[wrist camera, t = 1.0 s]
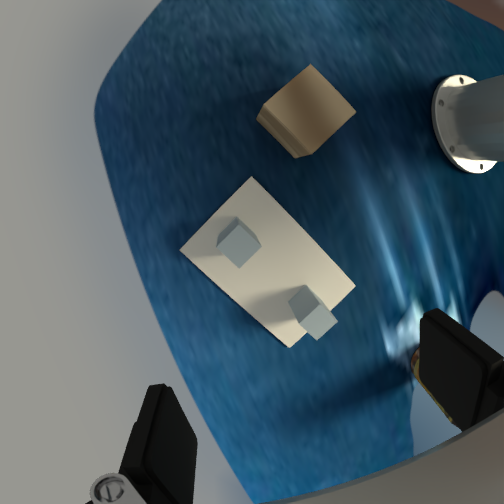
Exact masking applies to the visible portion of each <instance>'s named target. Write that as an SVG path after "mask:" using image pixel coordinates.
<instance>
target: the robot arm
mask: <svg viewBox="0 0 504 504" xmlns="http://www.w3.org/2000/svg"><path fill="white" fill-rule="evenodd" d="M431 111H432V122H433V128H434V131H435V134H436V138H437V140H438V142H439V144H440V147H441V148H442V150H443V152H444V153H445V155H446V156H447V157H448V159H449V160H450V161H451V162H452V163H453V164H454V165H455V166H456V167H458V168H459V169H461V170H463V171H465V172H468V173H483V172H486V171H488V170H489V169H490V168H491V167H492V166H493V165H494V164H495V163H496V161H500V162H504V75H501V76H497V77H493V78H489V79H486V80H482V81H478V82H477V81H475V80H474V79H472V78H470V77H468V76H464V75H453V76H450V77H448V78H446V79H444V80H442V81H441V82H440V84H439V85H438V86H437V88H436V90H435V92H434V95H433V99H432V107H431ZM503 359H504V357H503V356H501V355H500V354H499V353H497V352H496V351H495V350H494V349H492V348H491V347H490V346H488V345H487V344H486V343H485V342H483V341H482V340H481V339H479V338H478V337H477V336H475V335H474V334H473V333H471V332H470V331H469V330H467V329H466V328H465V327H463V326H462V325H461V324H459V323H458V322H457V321H455V320H454V319H452V318H451V317H450V316H448V315H447V314H446V313H444V312H443V311H441V310H440V309H438V308H436V309H433V310H431V311H428V312H426V313H424V314H423V318H421V319H420V349H419V379H420V381H421V382H422V384H423V385H424V386H425V387H426V388H427V389H428V391H429V392H430V393H431V394H432V395H433V397H434V398H435V399H436V400H437V401H438V403H439V404H440V405H441V406H442V407H443V409H444V410H445V411H446V412H447V413H448V415H449V416H450V417H451V418H452V420H453V421H454V422H455V423H456V425H457V426H458V427H459V428H460V429H461V431H462V433H460V434H458V435H456V436H454V437H452V438H451V439H449V440H447V441H445V442H443V443H441V444H439V445H437V446H435V447H433V448H431V449H429V450H427V451H425V452H423V453H420V454H418V455H417V456H414V457H412V458H409V459H407V460H405V461H402V462H400V463H398V464H395V465H393V466H390V467H388V468H385V469H383V470H380V471H377V472H375V473H372V474H369V475H367V476H364V477H361V478H358V479H355V480H352V481H349V482H346V483H343V484H339V485H336V486H333V487H329V488H326V489H322V490H318V491H315V492H311V493H307V494H303V495H299V496H294V497H290V498H285V499H281V500H276V501H270V502H265V503H259V504H504V361H503ZM196 456H197V438H196V435H195V433H194V431H193V429H192V427H191V426H190V424H189V422H188V420H187V418H186V416H185V414H184V412H183V410H182V408H181V406H180V404H179V402H178V400H177V398H176V396H175V394H174V391H173V390H172V388H171V387H167V386H166V385H165V384H157V385H150V386H149V387H148V389H147V392H146V395H145V398H144V401H143V405H142V407H141V410H140V413H139V416H138V419H137V422H135V423H134V425H133V428H132V431H131V434H130V437H129V441H128V443H127V446H126V450H125V453H124V456H123V459H122V462H121V466H120V469H119V473H110V474H105V475H103V476H101V477H99V478H98V479H96V481H95V482H94V483H93V484H92V486H91V489H90V497H91V499H92V500H91V501H89V502H87V503H86V504H193V493H194V481H195V468H196Z"/></svg>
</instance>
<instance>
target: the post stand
mask: <svg viewBox="0 0 504 504" xmlns="http://www.w3.org/2000/svg"><path fill="white" fill-rule="evenodd" d="M180 251H181V252H182V253H183V254H184V255H185V256H186V257H187V258H189V259H190V260H191V261H192V262H193V263H194V264H195V265H196V266H197V267H198V268H199V269H200V270H202V271H203V272H204V273H205V274H206V275H207V276H208V277H209V278H210V279H211V280H212V281H214V282H215V283H216V284H217V285H218V286H219V287H220V288H221V289H222V290H224V291H225V292H226V293H227V294H228V295H229V296H230V297H231V298H232V299H234V300H235V301H236V302H237V303H238V304H239V305H240V306H241V307H243V308H244V309H245V310H246V311H247V312H248V313H249V314H251V315H252V316H253V317H254V318H255V319H256V320H257V321H259V322H260V323H261V324H262V325H263V326H264V327H265V328H267V329H268V330H269V331H270V332H271V333H272V334H274V335H275V336H276V337H277V338H278V339H279V340H281V341H282V342H283V343H284V344H285V345H286V346H288V347H289V348H290V347H291V346H292V345H293V344H294V343H296V342H297V341H298V340H299V339H300V338H301V337H302V336H303V335H305V334H306V333H307V332H308V333H309V334H310V335H311V336H313V337H314V338H315V339H316V340H318V339H319V338H320V337H321V336H322V335H323V334H325V333H326V332H327V331H328V330H329V329H330V328H331V327H332V326H333V325H334V324H335V323H336V322H337V320H336V319H335V317H334V316H333V314H332V313H331V312H330V310H332V309H333V308H334V307H335V306H336V305H337V304H338V303H339V302H340V301H341V300H342V299H343V298H344V297H345V296H346V295H347V294H348V293H349V292H350V291H351V290H352V289H353V288H354V287H355V285H354V283H353V282H352V281H351V280H350V279H349V278H348V277H347V276H346V275H345V273H344V272H343V271H342V270H341V269H340V268H339V267H338V266H337V265H336V264H335V263H334V261H333V260H332V259H331V258H330V257H329V256H328V255H327V254H326V253H325V252H324V251H323V250H322V248H321V247H320V246H319V245H318V244H317V243H316V242H315V241H314V240H313V239H312V238H311V237H310V236H309V235H308V234H307V233H306V231H305V230H304V229H303V228H302V227H301V226H300V225H299V224H298V223H297V222H296V221H295V220H294V219H293V218H292V217H291V216H290V215H289V214H288V213H287V212H286V211H285V210H284V209H283V208H282V206H281V205H280V204H279V203H278V202H277V201H276V200H275V199H274V198H273V197H272V196H271V195H270V194H269V193H268V192H267V191H266V190H265V189H264V188H263V187H262V186H261V185H260V184H259V183H258V182H257V181H256V180H255V179H254V178H253V177H252V176H251V177H250V178H249V179H248V180H247V181H246V182H245V183H244V184H243V185H242V186H241V187H240V188H239V189H238V190H237V191H236V192H235V193H234V194H233V195H232V196H231V197H230V198H229V199H228V200H227V201H226V202H225V203H224V204H223V205H222V206H221V207H220V208H219V209H218V210H217V211H216V212H215V213H214V214H213V215H212V216H211V217H210V218H209V220H208V221H207V222H206V223H205V224H204V225H203V226H202V227H201V228H200V229H199V230H198V231H197V232H196V233H195V234H194V235H193V236H192V237H191V238H190V239H189V240H188V241H187V242H186V244H185V245H184V246H183V247H182V248H181V249H180Z"/></svg>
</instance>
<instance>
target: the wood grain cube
mask: <svg viewBox="0 0 504 504" xmlns="http://www.w3.org/2000/svg"><path fill="white" fill-rule="evenodd" d="M355 113H356V111H355V110H354V109H353V107H352V106H351V105H350V104H349V103H348V102H347V101H346V100H345V99H344V98H343V96H342V95H341V94H340V93H339V92H338V91H337V90H336V89H335V88H334V87H333V86H332V85H331V84H330V83H329V82H328V81H327V80H326V79H325V78H324V77H323V76H322V75H321V74H320V73H319V72H318V71H317V70H316V69H315V68H314V67H313V66H312V65H311V64H310V65H309V66H308V67H307V68H305V69H304V70H303V71H302V72H300V73H299V74H298V75H297V76H296V77H295V78H293V79H292V80H291V81H290V82H289V83H287V84H286V85H285V86H284V87H283V88H282V89H280V90H279V91H278V92H277V93H276V94H275V95H274V96H272V97H271V98H270V99H269V100H268V101H267V102H266V103H265V104H264V105H263V106H262V108H261V110H260V112H259V114H258V116H257V118H256V120H257V121H258V122H259V123H260V124H261V125H262V126H263V127H264V128H265V129H266V130H267V131H268V132H269V133H270V134H271V135H272V136H273V137H274V138H275V139H276V140H277V141H278V142H279V143H280V144H281V145H282V146H283V147H284V148H285V149H286V150H287V151H288V152H289V153H290V154H291V155H292V156H293V157H294V158H298V157H302V156H306V155H310V154H313V153H314V152H315V151H316V150H317V149H318V148H319V147H320V146H321V145H322V144H323V143H324V142H325V141H326V140H327V139H328V138H329V137H330V136H331V135H333V134H334V133H335V132H336V131H337V130H338V129H339V128H340V127H341V126H342V125H343V124H344V123H345V122H346V121H347V120H348V119H349V118H351V117H352V116H353V115H354V114H355Z"/></svg>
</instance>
